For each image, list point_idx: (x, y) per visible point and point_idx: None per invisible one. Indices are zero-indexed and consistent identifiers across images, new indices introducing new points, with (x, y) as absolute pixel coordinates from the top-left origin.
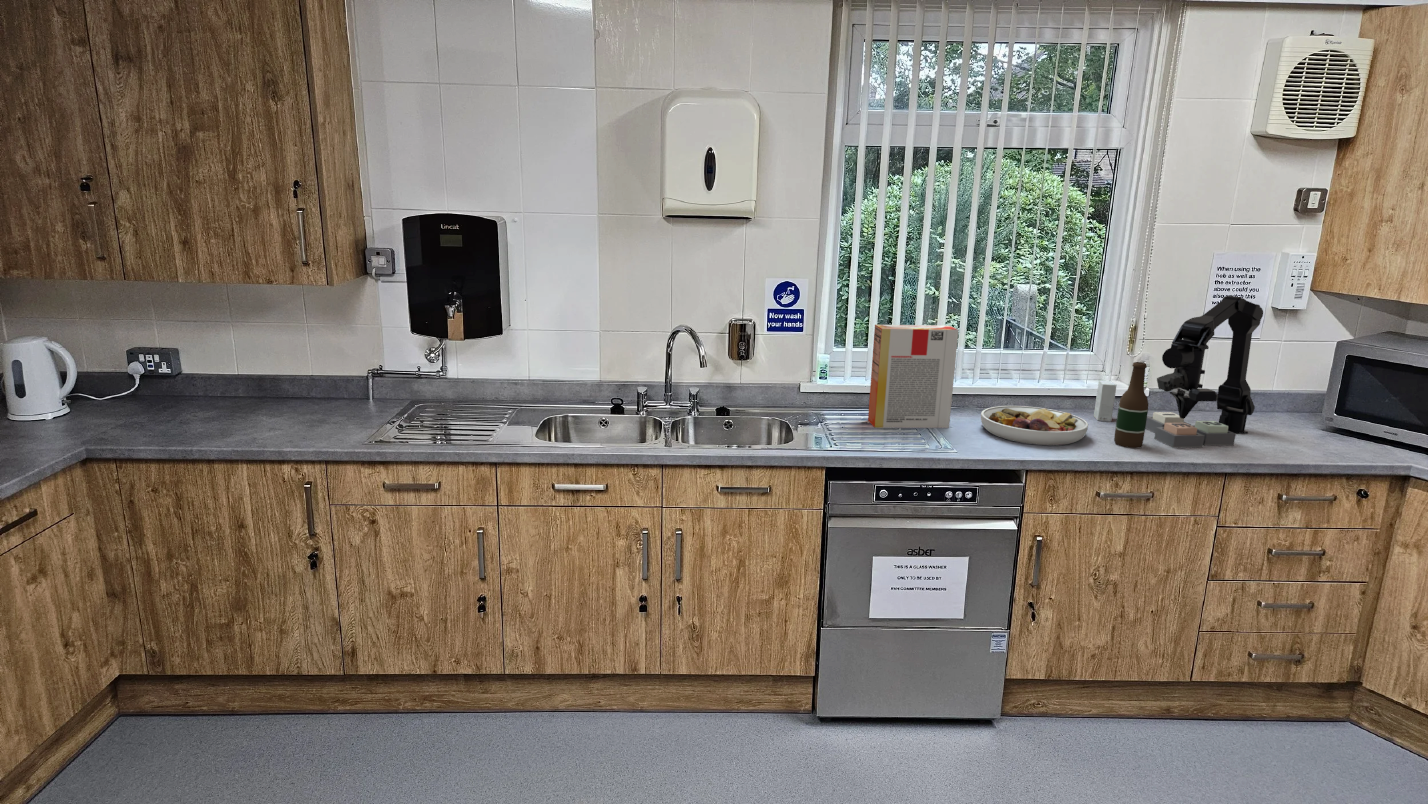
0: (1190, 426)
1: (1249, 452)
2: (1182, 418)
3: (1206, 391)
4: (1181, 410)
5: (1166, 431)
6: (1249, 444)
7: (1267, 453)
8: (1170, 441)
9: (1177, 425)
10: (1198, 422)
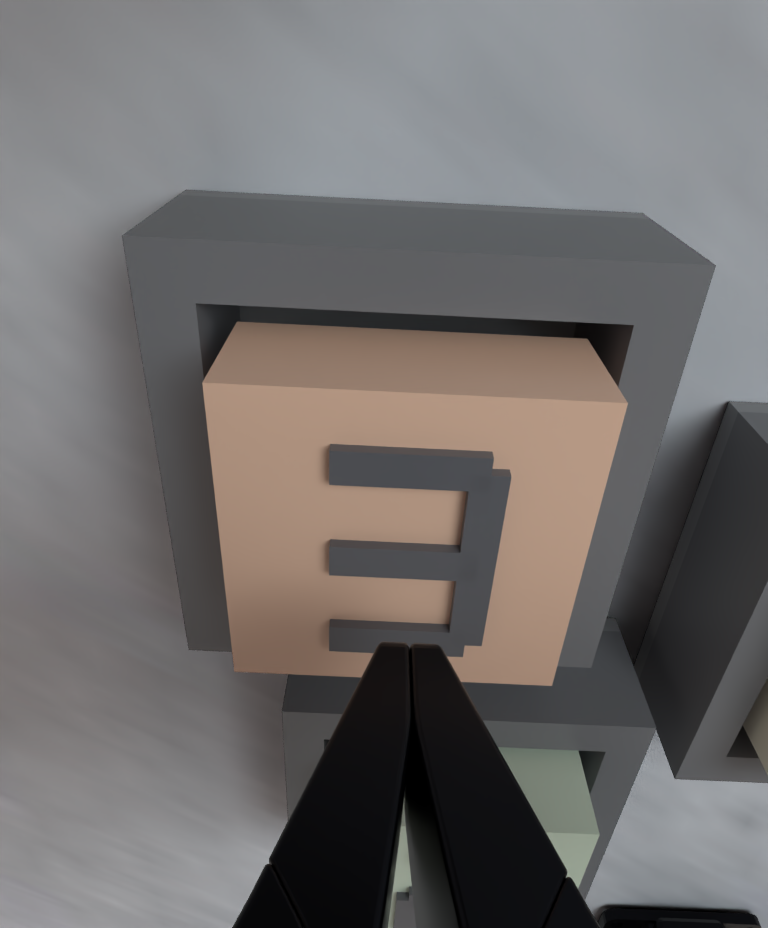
0: (331, 645)
1: (125, 781)
2: (382, 655)
3: None
4: (358, 785)
5: (415, 272)
6: None
7: (120, 850)
8: (246, 209)
9: (359, 482)
10: (542, 825)
